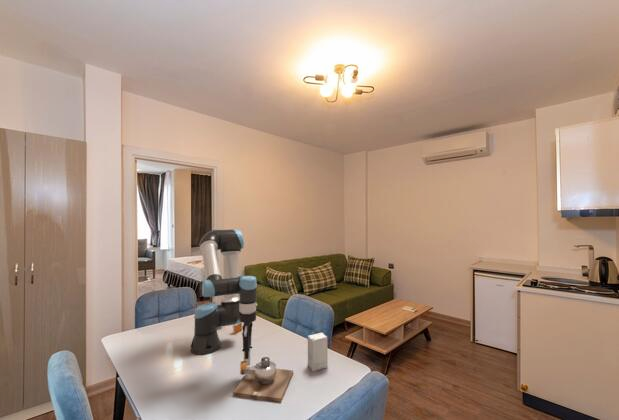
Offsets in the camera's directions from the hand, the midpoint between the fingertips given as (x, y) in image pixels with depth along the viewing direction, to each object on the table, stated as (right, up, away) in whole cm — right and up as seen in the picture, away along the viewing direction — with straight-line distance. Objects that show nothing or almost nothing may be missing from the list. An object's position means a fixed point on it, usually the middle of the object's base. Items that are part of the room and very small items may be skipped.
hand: (246, 364), depth 123 cm
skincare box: (+32, -6, +9) cm, 34 cm away
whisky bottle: (-29, -8, +56) cm, 63 cm away
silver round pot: (+6, -2, -4) cm, 7 cm away
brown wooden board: (+9, -5, -5) cm, 12 cm away
